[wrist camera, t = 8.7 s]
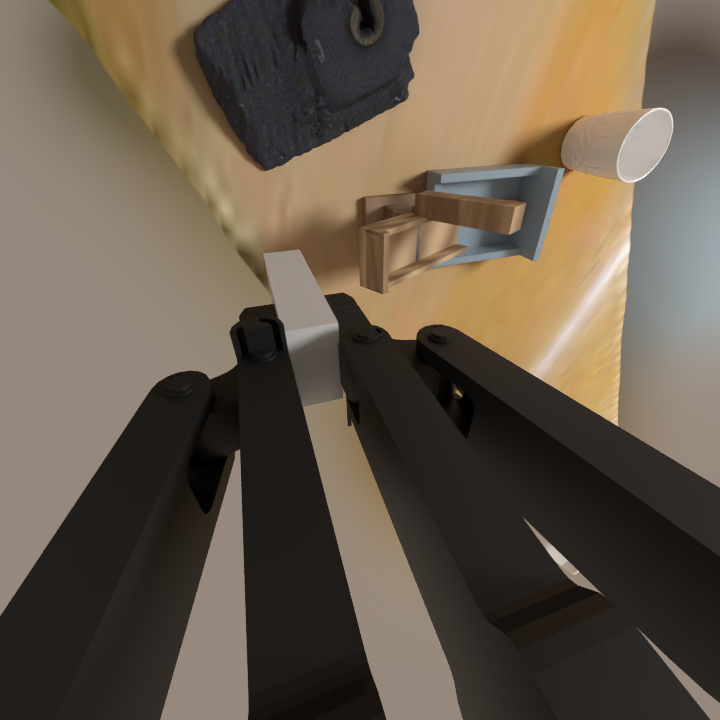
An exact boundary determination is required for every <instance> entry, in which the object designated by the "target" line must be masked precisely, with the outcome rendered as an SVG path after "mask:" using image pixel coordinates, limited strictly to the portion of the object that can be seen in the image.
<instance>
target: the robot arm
mask: <svg viewBox="0 0 720 720" xmlns="http://www.w3.org/2000/svg"><path fill="white" fill-rule="evenodd" d="M263 255H264V261H265V266H266V272H267V277H268V282H269V288H270V293H271V298H272V304H270V305H264V306H257V307H250V308H246V309H244V310H243V312H242V313H241V314H240V316H239V319H240V321H239V322H237V323H236V324H235V325H234V326H233V327H232V328H231V330H230V336H231V339H232V343H233V346H234V350H235V354H236V357H237V365H236V366H235V367H234V368H233V369H231V370H230V371H228V372H227V373H225V374H222V375H220V376H218V377H215V378H213V379H210V380H209V378H208V377H207V375H206V374H204V373H202V372H199V371H185V372H179V373H175V374H173V375H170V376H168V377H166V378H165V379H163V380H161V381H159V382H158V383H157V384H156V385H155V386H154V387H153V388H152V389H151V391H150V392H149V393H148V395H147V396H146V398H145V399H144V401H143V402H142V404H141V405H140V407H139V408H138V410H137V411H136V413H135V415H134V416H133V417H132V419H131V421H130V422H129V424H128V425H127V427H126V428H125V430H124V431H123V433H122V434H121V436H120V437H119V439H118V440H117V442H116V443H115V445H114V446H113V448H112V449H111V451H110V452H109V454H108V455H107V457H106V458H105V460H104V461H103V463H102V464H101V466H100V467H99V469H98V470H97V472H96V473H95V475H94V476H93V478H92V479H91V481H90V482H89V484H88V485H87V487H86V488H85V490H84V491H83V493H82V494H81V496H80V497H79V499H78V500H77V502H76V503H75V505H74V506H73V508H72V509H71V511H70V512H69V514H68V515H67V517H66V518H65V520H64V521H63V523H62V524H61V526H60V527H59V529H58V530H57V532H56V533H55V535H54V536H53V538H52V539H51V541H50V542H49V544H48V545H47V547H46V548H45V550H44V551H43V553H42V554H41V556H40V557H39V559H38V560H37V562H36V563H35V565H34V566H33V568H32V569H31V571H30V572H29V574H28V576H27V577H26V578H25V580H24V582H23V583H22V584H21V586H20V587H19V589H18V590H17V592H16V593H15V595H14V596H13V598H12V599H11V601H10V602H9V604H8V606H7V607H6V608H5V610H4V611H3V613H2V614H1V616H0V720H160V718H161V714H162V711H163V707H164V704H165V700H166V697H167V694H168V690H169V687H170V683H171V680H172V676H173V672H174V669H175V665H176V662H177V659H178V655H179V652H180V648H181V645H182V641H183V637H184V634H185V631H186V627H187V623H188V620H189V617H190V613H191V610H192V606H193V603H194V599H195V596H196V592H197V589H198V585H199V582H200V578H201V575H202V571H203V568H204V564H205V561H206V557H207V554H208V550H209V547H210V543H211V540H212V536H213V533H214V529H215V526H216V522H217V519H218V515H219V512H220V508H221V505H222V501H223V498H224V494H225V491H226V487H227V484H228V480H229V477H230V473H231V470H232V466H233V463H234V459H235V451H237V450H239V449H240V457H241V483H242V484H241V486H242V516H243V544H244V545H243V546H244V575H245V605H246V635H247V664H248V694H249V715H248V720H386V717H385V713H384V710H383V707H382V703H381V700H380V697H379V693H378V690H377V688H376V685H375V682H374V680H373V677H372V674H371V671H370V668H369V664H368V661H367V657H366V653H365V650H364V646H363V642H362V638H361V634H360V630H359V626H358V622H357V618H356V614H355V611H354V607H353V603H352V599H351V595H350V591H349V587H348V583H347V579H346V575H345V571H344V567H343V563H342V560H341V556H340V552H339V548H338V544H337V540H336V536H335V533H334V528H333V524H332V520H331V516H330V513H329V509H328V505H327V501H326V497H325V493H324V489H323V485H322V481H321V478H320V474H319V470H318V466H317V461H316V458H315V454H314V450H313V446H312V442H311V438H310V434H309V430H308V427H307V422H306V418H305V414H304V411H303V407H304V406H308V405H313V404H317V403H321V402H326V401H331V400H335V399H340V398H343V391H342V386H343V389H344V391H345V394H346V402H347V420H348V426H351V420H352V422H353V425H354V427H355V430H356V432H357V435H358V437H359V440H360V442H361V445H362V447H363V450H364V452H365V455H366V457H367V460H368V462H369V465H370V467H371V470H372V472H373V475H374V478H375V480H376V482H377V485H378V488H379V490H380V492H381V495H382V498H383V500H384V503H385V505H386V508H387V510H388V513H389V515H390V518H391V520H392V523H393V525H394V528H395V530H396V533H397V535H398V538H399V540H400V543H401V545H402V548H403V550H404V553H405V555H406V558H407V560H408V563H409V565H410V568H411V570H412V573H413V575H414V578H415V581H416V582H417V586H418V588H419V591H420V593H421V595H422V598H423V600H424V603H425V606H426V608H427V610H428V613H429V616H430V618H431V621H432V623H433V626H434V628H435V631H436V633H437V636H438V638H439V641H440V643H441V646H442V648H443V651H444V653H445V656H446V658H447V661H448V663H449V666H450V669H451V672H452V675H453V679H454V682H455V688H456V693H457V699H458V704H459V707H460V711H461V714H462V718H463V720H710V719H709V718H708V716H707V715H706V714H705V713H704V711H703V710H702V709H701V708H700V706H699V705H698V704H697V702H696V701H695V700H694V699H693V697H692V696H691V695H690V694H689V692H688V691H687V690H686V689H685V688H684V686H683V685H682V684H681V682H680V681H679V680H678V679H677V677H676V676H675V675H674V674H673V672H672V671H671V670H670V669H669V667H668V666H667V665H666V664H665V662H664V661H663V660H662V659H661V657H660V656H659V655H658V653H657V652H656V651H655V650H654V649H653V647H652V646H651V645H650V643H649V642H648V641H647V640H646V638H645V637H644V636H643V635H642V633H643V634H645V636H647V637H648V638H649V639H650V640H651V641H652V642H653V643H654V644H655V645H656V646H657V647H658V648H659V649H660V650H661V651H662V652H663V653H664V654H665V655H666V656H667V657H668V658H669V659H670V660H672V661H673V662H674V663H675V664H676V665H677V666H678V667H679V668H680V669H682V670H683V671H684V672H685V673H686V674H687V675H688V676H689V677H691V679H692V680H694V681H695V682H696V683H697V684H698V685H699V686H700V687H701V688H702V689H703V690H705V691H706V692H707V693H708V694H710V695H711V696H712V697H713V698H715V699H716V700H717V701H718V702H719V703H720V488H719V487H717V486H716V485H714V484H712V483H710V482H709V481H707V480H706V479H704V478H702V477H701V476H699V475H697V474H696V473H694V472H693V471H691V470H689V469H687V468H686V467H684V466H683V465H681V464H679V463H678V462H676V461H674V460H673V459H671V458H669V457H667V456H666V455H664V454H663V453H661V452H659V451H658V450H656V449H654V448H653V447H651V446H649V445H648V444H646V443H644V442H643V441H641V440H640V439H638V438H636V437H635V436H633V435H631V434H630V433H628V432H626V431H625V430H623V429H621V428H620V427H618V426H616V425H615V424H613V423H611V422H610V421H608V420H606V419H605V418H603V417H601V416H600V415H598V414H596V413H595V412H593V411H591V410H590V409H588V408H586V407H585V406H583V405H582V404H580V403H578V402H577V401H575V400H573V399H572V398H570V397H568V396H567V395H565V394H563V393H562V392H560V391H558V390H557V389H555V388H553V387H552V386H550V385H548V384H547V383H545V382H543V381H542V380H540V379H538V378H537V377H535V376H533V375H532V374H530V373H528V372H527V371H525V370H523V369H522V368H520V367H519V366H517V365H515V364H514V363H512V362H510V361H509V360H507V359H505V358H504V357H502V356H500V355H499V354H497V353H495V352H494V351H492V350H490V349H489V348H487V347H485V346H484V345H482V344H480V343H479V342H477V341H475V340H474V339H472V338H470V337H469V336H467V335H465V334H464V333H462V332H461V331H459V330H457V329H455V328H452V327H450V326H445V325H439V324H438V325H437V324H436V325H430V326H425V327H423V328H422V329H420V330H419V331H418V333H417V338H416V340H395V339H392V338H391V336H390V335H389V334H388V332H387V331H385V330H384V329H383V328H381V327H378V326H374V325H371V323H370V322H369V321H368V319H367V318H366V316H365V315H364V313H363V312H362V311H361V309H360V307H359V306H358V305H357V303H356V302H355V300H354V299H353V297H351V296H349V295H347V294H345V293H337V294H330V295H323V293H322V291H321V289H320V287H319V285H318V284H317V282H316V280H315V278H314V276H313V274H312V272H311V270H310V268H309V267H308V265H307V263H306V261H305V259H304V257H303V255H302V253H301V251H300V250H290V251H281V252H272V253H264V254H263ZM456 386H457V387H459V388H460V389H461V390H463V391H464V394H463V397H461V396H459V395H458V394H456V393H455V387H456ZM524 519H525V520H526V521H527V522H528V523H529V524H530V525H531V526H532V527H533V528H534V529H536V530H537V531H538V532H539V533H540V534H541V535H542V536H543V537H544V538H545V539H546V540H547V541H548V542H549V543H550V544H551V545H552V546H553V547H554V548H555V549H556V550H557V551H558V552H559V553H560V554H561V555H562V556H564V557H565V558H566V559H567V560H568V561H569V562H570V563H571V564H572V565H573V566H574V567H575V568H576V569H577V570H578V571H579V572H580V573H581V574H582V575H583V576H584V577H585V578H586V579H587V580H588V581H590V583H592V584H593V585H594V586H595V587H596V588H597V589H598V590H599V591H600V592H601V593H602V594H603V595H604V596H605V597H604V596H603V595H602V594H600V593H598V592H595V591H593V590H589V589H587V588H584V587H581V586H578V585H577V584H575V583H574V582H573V581H571V580H570V579H569V578H568V577H567V576H566V575H565V574H564V573H563V571H562V570H561V569H560V568H559V566H558V565H557V564H556V562H555V561H554V559H553V558H552V557H551V555H550V554H549V553H548V551H547V550H546V548H545V547H544V546H543V544H542V543H541V542H540V540H539V539H538V538H537V536H536V535H535V533H534V532H533V531H532V529H531V528H530V527H529V525H528V524H527V522H526V521H525V520H524ZM638 629H639V630H640V631H641V632H642V633H641V632H640V631H639V630H638Z"/></svg>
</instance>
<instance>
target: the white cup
mask: <svg viewBox="0 0 720 720" xmlns="http://www.w3.org/2000/svg"><path fill="white" fill-rule="evenodd" d="M672 132H673V118H672V115H671V113H670V112H669V111H668V110H667V109H665V108H652V109H640V110H628V111H617V112H609V113H605V114H598V115H586V116H584V117H582V118H581V119H579V120H577V121H576V122H575V123H574V124H573V125H572V127H571V128H570V129H569V130H568V132H567V134H566V136H565V138H564V140H563V143H562V148H561V159H562V163H563V165H564V166H565V167H567V168H568V169H570V170H575V171H580V172H582V173H585V174H590V175H593V176H597V177H602V178H607V179H611V180H616V181H621V182H625V183H633V182H636V181H638V180H640V179H642V178H643V177H645V176H646V175H647V174H649V172H651V171H652V170H653V169H654V167H655V166H656V165H657V164H658V163H659V161H660V160H661V158H662V157H663V155H664V153H665V151H666V149H667V147H668V145H669V143H670V139H671V136H672Z"/></svg>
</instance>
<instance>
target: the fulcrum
mask: <svg viewBox="0 0 720 720" xmlns="http://www.w3.org/2000/svg"><path fill="white" fill-rule="evenodd" d="M413 206H415V193H412V192H411V193H400V194H389V195H378V196H367V197H364V226H365V225H369V224H372V223H376V222H379V221H382V220H386V219H389V218H392V217H396V216H399V215H402V214H406V213H409V212H412V207H413Z"/></svg>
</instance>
